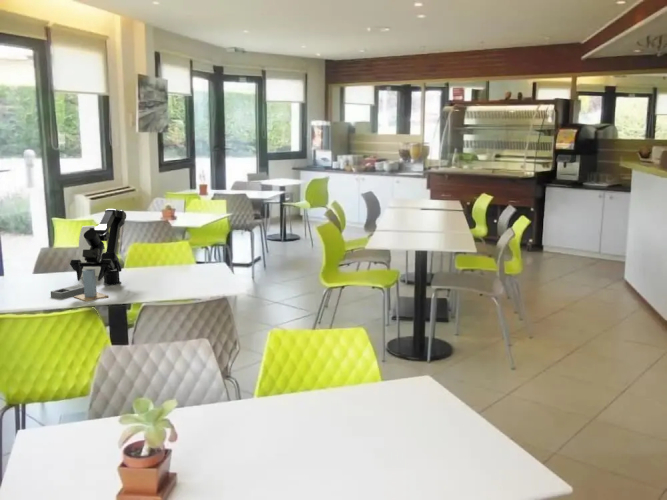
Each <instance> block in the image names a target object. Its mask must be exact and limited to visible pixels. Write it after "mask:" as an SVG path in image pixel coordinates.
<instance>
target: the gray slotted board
mask: <svg viewBox="0 0 667 500" xmlns="http://www.w3.org/2000/svg"><path fill="white" fill-rule="evenodd" d="M82 294H84V282H83V283H79V284H78V283H77V284H73V285H70V286H67V287H62V288H58V289H55V290H51V291H50V297H51V298H55V299H61V300H63V299H66V298H69V297H73V296H77V295H82Z"/></svg>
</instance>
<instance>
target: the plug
mask: <svg viewBox="0 0 667 500" xmlns="http://www.w3.org/2000/svg"><path fill="white" fill-rule="evenodd" d="M96 277H97V276H95V269H86V270H84V271H83V277H82V279H83V283H84V293H83V294H85V297H94V296H96V295H97V281H96V280H97V279H96Z"/></svg>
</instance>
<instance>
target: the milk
mask: <svg viewBox="0 0 667 500" xmlns="http://www.w3.org/2000/svg"><path fill="white" fill-rule="evenodd" d="M95 227H96V226H95V225H82V227H81V229H80V232H79V237H78V259H80V260H81V262H87V261H85V257H82V256H83V250H90V245H88V243H87V241H86V240H85V238H84V233H85V232H86V231H88V230H90V228H95ZM100 261H101V260H100ZM86 269H95V277H98V276H99V273H100V270H101V267H83V269H82V271H84V270H86ZM81 278H82V279H83V272H82V275H81ZM81 278H80V279H81Z"/></svg>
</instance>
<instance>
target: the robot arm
mask: <svg viewBox="0 0 667 500" xmlns="http://www.w3.org/2000/svg"><path fill="white" fill-rule="evenodd" d="M126 220H127V212H125V211H124V210H123V209H121V210H119V209H115V208H107V209H105V210H104V215H103V216H102V218H101V221H100V223H99V224H98V225H97V226H95V228H90V230H88V231H86V232H85V233H84V238H85V240H86V241H87V243H88V245H90V250H83V256H82V257H85V261H87V262H81V260H80V259H79V258H78V259H77V258H75V259H74V258H73V259H71V260H70V262H69V265H70V267H71V268H72V270H73V271H75V273H76V278H77V279H76V280H77V282H79V281H80V280H81V275H82V272H83V271H82V269H83V267H101V270H100V273H99V276H97V281H98V282H100V281H101V280H102V279H103V283H102V284H105V285H107V286H113V285H117V284H118V285H119V284H122V281H120V272H122V270H123V269H122V264H121V263H120V260H119V259H120V258H119V256H118V255H117V252H118V245H119V238H120V231H121V228H122V226H124V224H125V221H126ZM104 242H107V246H106V251H105V252H104V250H105V244H104ZM100 260H101V261H100Z"/></svg>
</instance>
